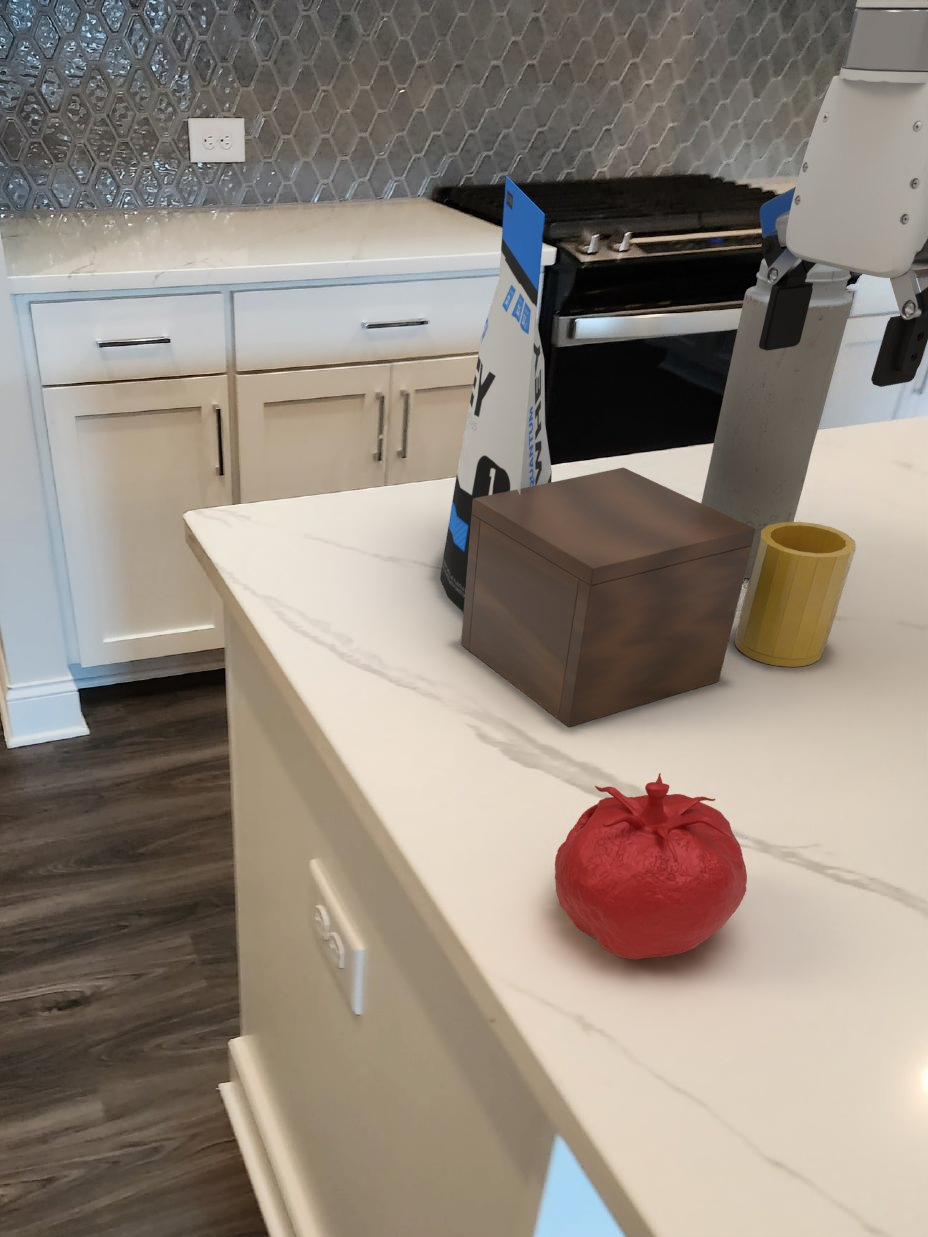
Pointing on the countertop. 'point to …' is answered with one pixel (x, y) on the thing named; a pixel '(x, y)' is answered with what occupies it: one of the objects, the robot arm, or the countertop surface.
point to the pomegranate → (650, 872)
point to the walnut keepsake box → (602, 591)
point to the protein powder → (503, 390)
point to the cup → (793, 593)
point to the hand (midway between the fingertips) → (832, 364)
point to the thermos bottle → (774, 406)
